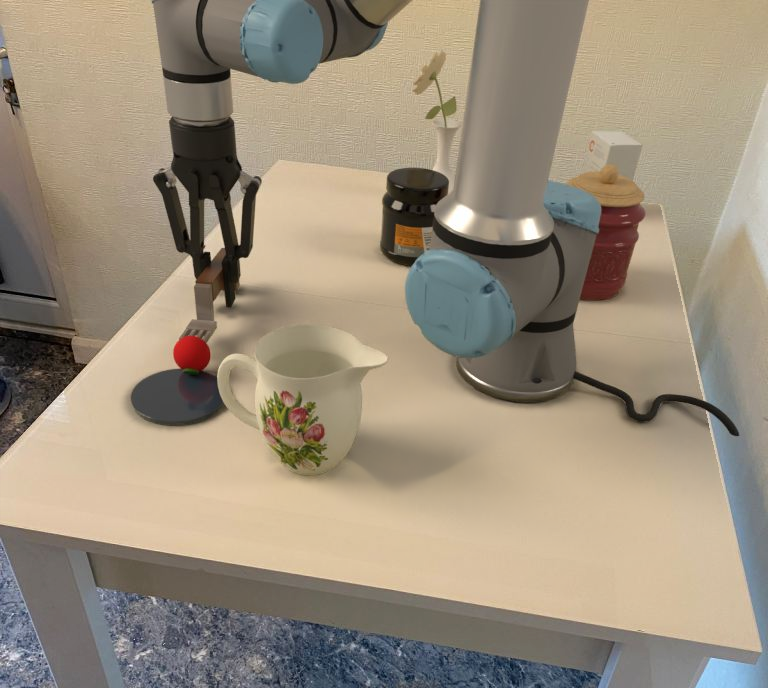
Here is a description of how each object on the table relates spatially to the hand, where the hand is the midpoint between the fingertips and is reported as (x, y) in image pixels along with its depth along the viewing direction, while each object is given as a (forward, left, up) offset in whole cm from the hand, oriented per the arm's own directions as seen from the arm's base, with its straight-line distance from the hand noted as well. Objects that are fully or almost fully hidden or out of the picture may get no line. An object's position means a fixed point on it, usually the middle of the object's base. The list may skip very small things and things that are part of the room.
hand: (220, 301), depth 102 cm
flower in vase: (-3, -54, -1) cm, 54 cm away
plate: (-11, +19, -1) cm, 22 cm away
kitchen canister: (-37, -42, -1) cm, 56 cm away
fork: (-2, +3, 0) cm, 4 cm away
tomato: (-8, +13, +3) cm, 15 cm away
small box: (-28, -72, -1) cm, 77 cm away
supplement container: (-11, -33, -1) cm, 35 cm away
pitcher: (-29, +18, -1) cm, 34 cm away
